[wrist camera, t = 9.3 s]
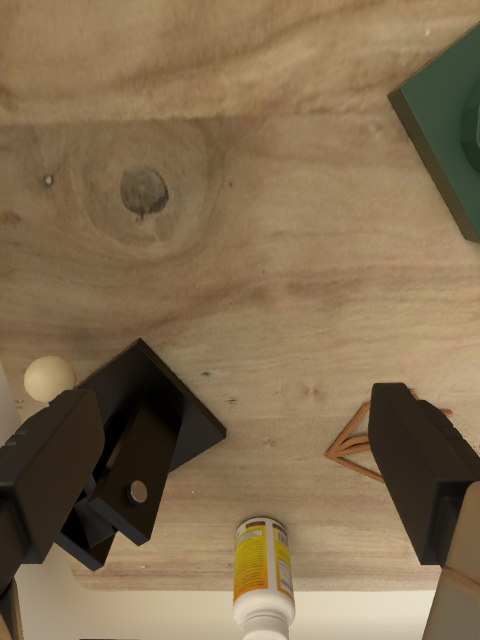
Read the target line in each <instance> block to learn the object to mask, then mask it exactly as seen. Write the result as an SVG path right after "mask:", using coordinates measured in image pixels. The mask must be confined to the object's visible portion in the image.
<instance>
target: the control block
mask: <svg viewBox="0 0 480 640" xmlns="http://www.w3.org/2000/svg"><path fill="white" fill-rule="evenodd" d="M388 98H389V100H390V102H391V103H392V105H393V107H394V109H395V111H396V113H397V114H398V116H399V118H400V120H401V122H402V124H403V125H404V127H405V129H406V131H407V133H408V135H409V136H410V138H411V140H412V142H413V144H414V146H415V147H416V149H417V151H418V153H419V155H420V157H421V158H422V160H423V162H424V164H425V166H426V168H427V169H428V171H429V173H430V175H431V177H432V179H433V180H434V182H435V184H436V186H437V188H438V190H439V191H440V193H441V195H442V197H443V199H444V201H445V202H446V204H447V206H448V208H449V210H450V212H451V214H452V215H453V217H454V219H455V221H456V223H457V225H458V226H459V228H460V230H461V232H462V234H463V236H464V237H465V239H466V240H470V241H473V242H477V243H480V21H479V22H478V23H477V24H476V25H474V26H473V27H472V28H471V29H469V30H468V31H467V32H466V33H464V34H463V35H462V36H461V37H459V38H458V39H457V40H456V41H454V42H453V43H452V44H451V45H449V46H448V47H447V48H446V49H444V50H443V51H442V52H441V53H439V54H438V55H437V56H436V57H434V58H433V59H432V60H430V61H429V62H428V63H427V64H425V65H424V66H423V67H422V68H420V69H419V70H418V71H417V72H415V73H414V74H413V75H412V76H410V77H409V78H408V79H407V80H405V81H404V82H403V83H402V84H400V85H399V86H398V87H397V88H395V89H394V90H393V91H392V92H390V93H389V94H388Z"/></svg>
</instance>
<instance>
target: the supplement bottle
mask: <svg viewBox="0 0 480 640" xmlns="http://www.w3.org/2000/svg"><path fill="white" fill-rule="evenodd" d="M233 615H234V619H235V621H236V623H237V624H238V625H239V626H240V627H241V634H242V640H289V636H288V633H289V630H288V627H289V626H290V625H291V624H292V622H293V620H294V618H295V602H294V594H293V585H292V576H291V566H290V558H289V550H288V539H287V534H286V531H285V529H284V528H283V527H282V526H281V525H280V524H279V523H278V522H276V521H274V520H272V519H269V518H253V519H250V520H248V521H246V522H244V523H243V524H242V525H241V526H240V527H239V528H238V530H237V533H236V538H235V567H234V599H233Z"/></svg>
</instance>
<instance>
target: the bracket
mask: <svg viewBox="0 0 480 640" xmlns="http://www.w3.org/2000/svg"><path fill="white" fill-rule="evenodd" d="M76 389H92V390H93V391H94V392H95V394H96V397H97V402H98V406H99V411H100V415H101V420H102V424H103V429H104V434H105V443H104V449H103V452H102V455H101V457H100V459H99V460H98V462H99V464H100V467H101V469H102V471H103V473H102V475H101V477H100V479H99V481H98V483H97V485H96V487H95V489H94V491H93V493H92V495H91V497H90V499H89V501H88V503H87V504H88V505H89V506H90V507H91V508H92V509H94V510H95V511H96V512H97V513H99V514H100V515H101V516H102V517H103V518H105V519H106V520H107V521H108V522H109V523H111V524H112V525H113V526H114V527H115V528H117V529H118V530H119V531H120V532H121V533H123V534H124V535H125V536H126V537H127V538H129V539H130V540H131V541H132V542H133V543H135V544H136V545H137V546H140V545H142V544H144V543H146V542H147V541H149V540H150V538H151V534H152V530H153V527H154V523H155V519H156V516H157V512H158V508H159V505H160V501H161V497H162V494H163V490H164V487H165V483H166V479H167V476H168V473H170V472H171V471H173V470H174V469H176V468H178V467H179V466H181V465H183V464H184V463H186V462H187V461H189V460H191V459H192V458H194V457H196V456H197V455H199V454H200V453H202V452H204V451H205V450H207V449H209V448H210V447H212V446H213V445H215V444H217V443H218V442H220V441H221V440H223V439H225V438H226V428H225V427H224V426H223V425H222V424H221V423H220V422H219V421H218V420H217V419H216V418H215V417H214V416H213V415H212V414H211V413H210V411H209V410H208V409H207V408H206V407H205V406H204V405H203V404H202V403H201V402H200V401H199V400H198V399H197V398H196V397H195V396H194V394H193V393H192V392H191V391H190V390H189V389H188V388H187V387H186V386H185V385H184V384H183V383H182V382H181V381H180V380H179V379H178V377H177V376H176V375H175V374H174V373H173V372H172V371H171V370H170V369H169V368H168V367H167V366H166V365H165V364H164V363H163V362H162V360H161V359H160V358H159V357H158V356H157V355H156V354H155V353H154V352H153V351H152V350H151V349H150V348H149V347H148V346H147V345H146V343H145V342H144V341H143V340H142V339H141V338H139V339H138V340H137V341H135V342H134V343H133V344H131V345H130V346H129V347H127V348H126V349H125V350H124V351H122V352H121V353H120V354H118V355H117V356H116V357H114V358H113V359H112V360H110V361H109V362H108V363H106V364H105V365H104V366H102V367H101V368H100V369H98V370H97V371H96V372H94V373H93V374H92V375H90V376H89V377H88V378H86V379H85V380H84V381H82V382H81V383H80V384H79V385H77V386H76V387H75V388H74V389H73V390H76ZM85 497H87V496H86V493H85V491H84V488H83V490H82V492H81V493H80V495H79V497H78V499H77V501H76V503H77V502H79V501H80V500H82V499H83V498H85ZM76 503H75V504H76ZM115 534H116V533H115ZM115 534H113V535H112V536H110V537H108V538H107V539H105V540H103V541H102V542H100V543H98V544H96V545H95V546H93V547H90V546H89V544H88V541H87V539H86V536H85V534H84V531H83V529H82V526H81V524H80V521H79V518H78V516H77V513H76V511H75V508H74V506H73V508H72V510H71V512H70V514H69V516H68V517H67V519H66V521H65V523H64V525H63V527H62V528H61V530H60V532H59V534H58V536H57V538H56V539H55V541H54V542H55V543H56V544H58V545H59V546H60V547H61V548H63V549H64V550H65V551H66V552H68V553H69V554H70V555H72V556H73V557H74V558H76V559H77V560H78V561H80V562H81V563H82V564H84V565H85V566H86V567H87V568H89V569H90V570H91V571H93V572H94V571H96V570H98V569H99V568H101V567H103V566H104V564H105V561H106V558H107V556H108V553H109V550H110V548H111V545H112V542H113V540H114V537H115Z"/></svg>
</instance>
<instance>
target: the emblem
mask: <svg viewBox="0 0 480 640" xmlns="http://www.w3.org/2000/svg"><path fill="white" fill-rule="evenodd" d="M410 392H411V393H412V394H413V396H414V397H415V398H416V400H418V399H417V397H416V396H415V393H414V391H413V389H411V390H410ZM370 404H371V402H370V403H366V404H364V406H363V407H362V408H361V409H360V411H359V412H358V413H357V414H356V416H355V417H354V418H353V420H352V421H351V422H350V423H349V425H348V426H347V427H346V429H345V430H344V431H343V432H342V434H341V435H340V436H339V438H338V439H337V440H336V441H335V443H334V444H333V445H332V446H331V448H330V449H329V450H328V452H327V453H326V454H325V457H326V458H328V459H331V460H333V461H335V462H337V463H339V464H342V465H344V466H346V467H348V468H350V469H353V470H355V471H357V472H359V473H362V474H364V475H366V476H368V477H370V478H373V479H375V480H377V481H379V482H382V483H385V482H384V479H383V477H381V476H379V475H377V474H375V473H373V472H370V471H368V470H366V469H364V468H362V467H359V466H357V465H355V464H353V463H350V462H348V461H346V460H344V459H342V458H339V457H340V456H345V455H349V454H354V453H358V452H363V451H367V450H371V449H370V445H369V443H365V444H360V443H362V442H369V439H368V436H366V435H365V436H358V437H354V438H351V439H349V440H347V441H345V442H343V441H344V440H345V438H346V437H347V436H348V434H349V433H350V432H351V431H352V429H353V428H354V427H355V426H356V424H357V423H358V422H359V421H360V419H361V418H362V417H363V416H364V414H365V413H366V412H367V410H369V409H370ZM441 411H442V412H443V413H444V414H445V415H450V414H452V411H451V410H441ZM342 442H343V443H342ZM341 443H342V444H341ZM356 443H359V444H360V445H356V446H351V447H348V446H350V445H353V444H356Z"/></svg>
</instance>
